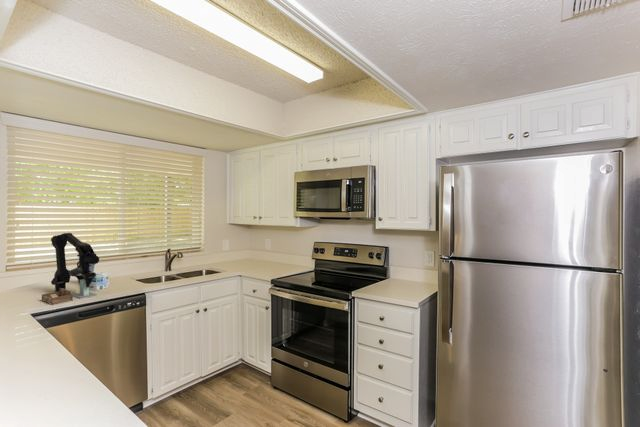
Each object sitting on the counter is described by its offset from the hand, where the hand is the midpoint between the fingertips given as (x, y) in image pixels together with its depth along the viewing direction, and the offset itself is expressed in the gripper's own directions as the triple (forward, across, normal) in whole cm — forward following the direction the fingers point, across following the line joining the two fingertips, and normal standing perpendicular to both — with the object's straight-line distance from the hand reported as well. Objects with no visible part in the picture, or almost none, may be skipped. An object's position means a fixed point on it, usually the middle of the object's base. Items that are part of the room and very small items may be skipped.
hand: (84, 286), depth 217 cm
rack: (+6, 0, -15) cm, 16 cm away
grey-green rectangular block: (+6, 0, 0) cm, 6 cm away
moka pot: (+6, -36, +16) cm, 40 cm away
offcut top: (+4, 0, -17) cm, 17 cm away
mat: (+6, 0, 0) cm, 6 cm away
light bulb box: (+6, -13, +15) cm, 21 cm away
